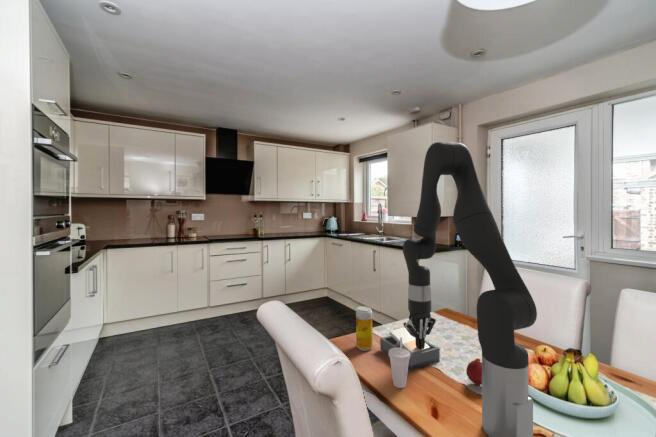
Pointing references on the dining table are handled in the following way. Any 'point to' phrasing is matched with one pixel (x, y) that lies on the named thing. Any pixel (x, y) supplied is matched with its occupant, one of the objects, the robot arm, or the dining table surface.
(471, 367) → the onion
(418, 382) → the dining table surface
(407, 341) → the plate
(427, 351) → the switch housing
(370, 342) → the glass of beer
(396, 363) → the smoothie
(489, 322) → the robot arm
